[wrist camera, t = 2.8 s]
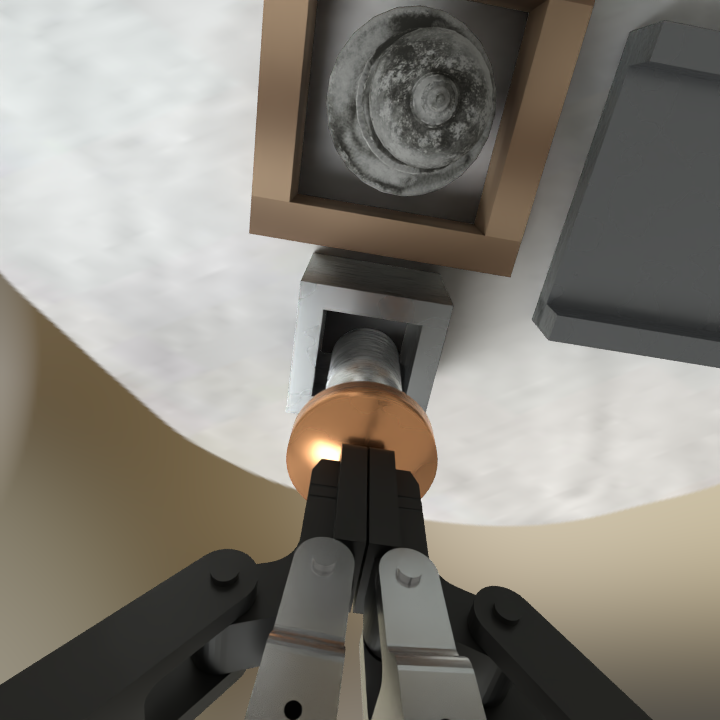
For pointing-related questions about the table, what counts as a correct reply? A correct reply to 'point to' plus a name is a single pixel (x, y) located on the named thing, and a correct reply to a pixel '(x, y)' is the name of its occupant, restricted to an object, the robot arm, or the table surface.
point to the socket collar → (395, 228)
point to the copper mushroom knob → (362, 413)
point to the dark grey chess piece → (411, 100)
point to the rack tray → (647, 209)
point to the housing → (372, 299)
